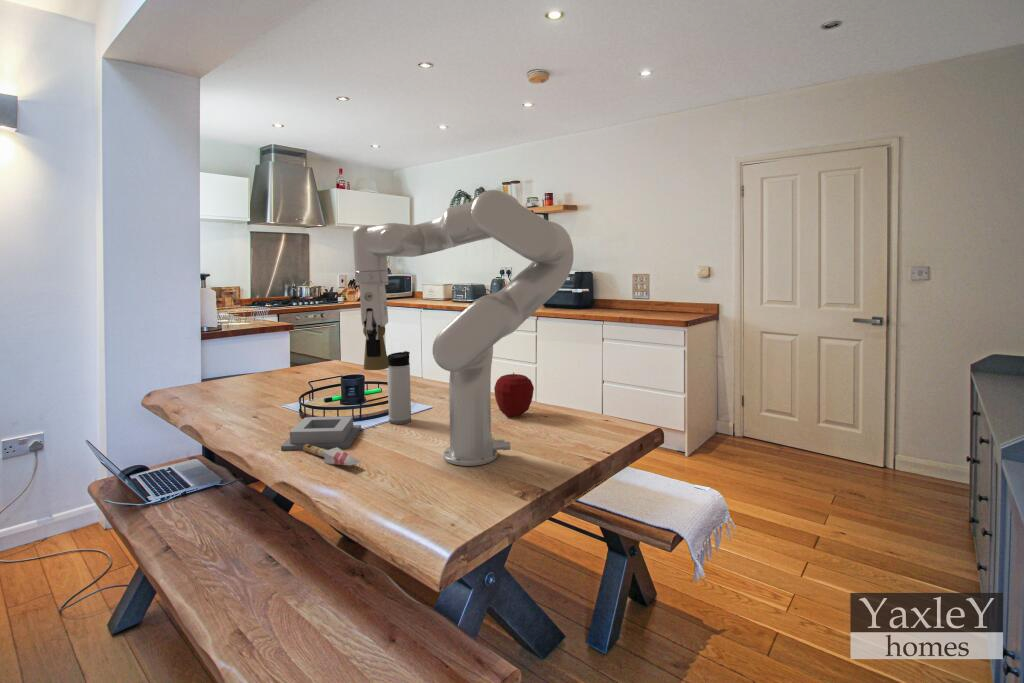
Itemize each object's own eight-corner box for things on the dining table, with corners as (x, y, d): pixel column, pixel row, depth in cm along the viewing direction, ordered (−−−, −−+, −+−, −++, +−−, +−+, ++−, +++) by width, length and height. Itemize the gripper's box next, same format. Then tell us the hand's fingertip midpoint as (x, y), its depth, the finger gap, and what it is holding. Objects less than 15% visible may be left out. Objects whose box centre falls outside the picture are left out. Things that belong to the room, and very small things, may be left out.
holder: (361, 428, 147) (360, 414, 146) (348, 448, 131) (347, 432, 131) (301, 429, 146) (300, 415, 145) (281, 450, 130) (280, 434, 129)
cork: (394, 366, 131) (392, 322, 129) (375, 371, 126) (373, 324, 124) (376, 364, 134) (374, 320, 132) (358, 368, 129) (355, 323, 127)
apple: (534, 421, 153) (534, 376, 151) (493, 421, 153) (493, 376, 151) (533, 410, 165) (533, 368, 163) (495, 410, 165) (495, 367, 163)
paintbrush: (347, 459, 116) (298, 444, 128) (348, 471, 116) (299, 455, 128) (362, 454, 119) (313, 440, 131) (363, 466, 119) (314, 450, 131)
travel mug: (416, 420, 154) (414, 352, 151) (397, 426, 149) (395, 355, 146) (403, 416, 158) (401, 350, 155) (384, 421, 153) (382, 352, 150)
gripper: (382, 279, 119) (386, 360, 121) (392, 277, 135) (396, 349, 138) (347, 280, 118) (352, 361, 121) (362, 278, 135) (366, 350, 137)
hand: (375, 354), depth 129 cm, fingers closed on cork, 4 cm apart
